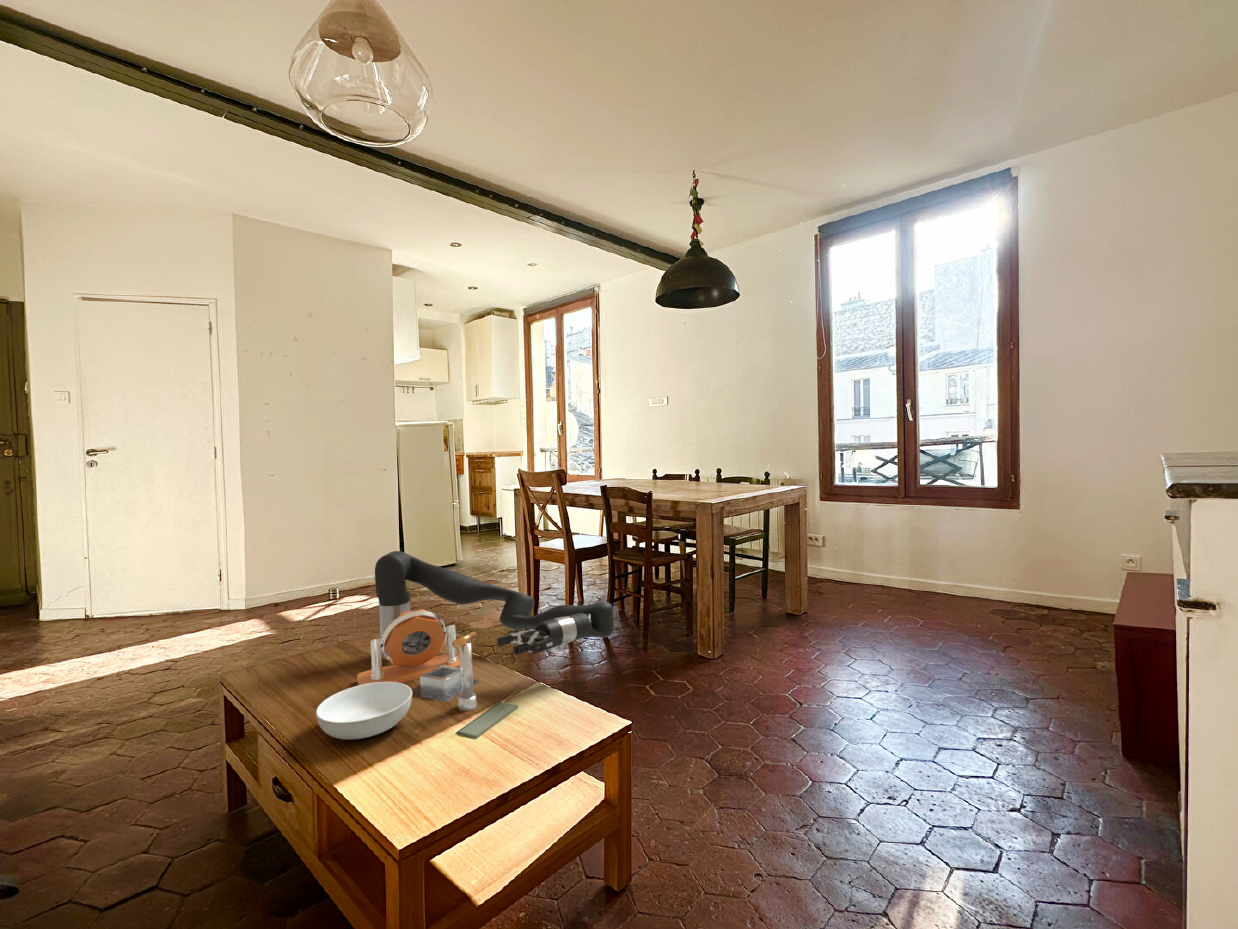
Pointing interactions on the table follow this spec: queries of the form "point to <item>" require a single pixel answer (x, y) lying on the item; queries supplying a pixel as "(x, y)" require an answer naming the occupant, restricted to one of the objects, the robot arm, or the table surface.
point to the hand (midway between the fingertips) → (505, 646)
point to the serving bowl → (364, 710)
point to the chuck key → (466, 672)
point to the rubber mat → (487, 720)
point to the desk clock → (411, 648)
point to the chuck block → (440, 684)
